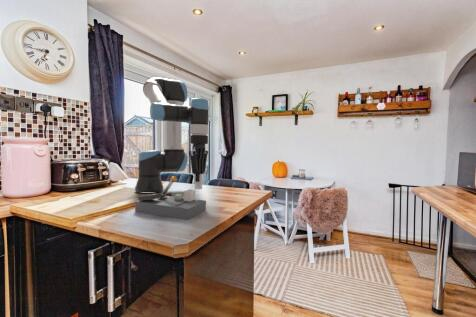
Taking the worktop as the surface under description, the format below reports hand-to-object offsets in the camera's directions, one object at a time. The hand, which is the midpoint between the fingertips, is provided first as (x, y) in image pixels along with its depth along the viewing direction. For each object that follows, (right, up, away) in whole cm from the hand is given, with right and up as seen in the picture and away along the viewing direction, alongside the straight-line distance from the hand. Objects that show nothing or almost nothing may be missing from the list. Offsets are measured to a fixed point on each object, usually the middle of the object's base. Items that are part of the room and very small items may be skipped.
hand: (198, 188), depth 104 cm
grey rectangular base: (-10, -8, -8) cm, 15 cm away
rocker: (-18, -2, -8) cm, 20 cm away
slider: (-3, -4, -6) cm, 8 cm away
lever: (-15, -2, -4) cm, 15 cm away
